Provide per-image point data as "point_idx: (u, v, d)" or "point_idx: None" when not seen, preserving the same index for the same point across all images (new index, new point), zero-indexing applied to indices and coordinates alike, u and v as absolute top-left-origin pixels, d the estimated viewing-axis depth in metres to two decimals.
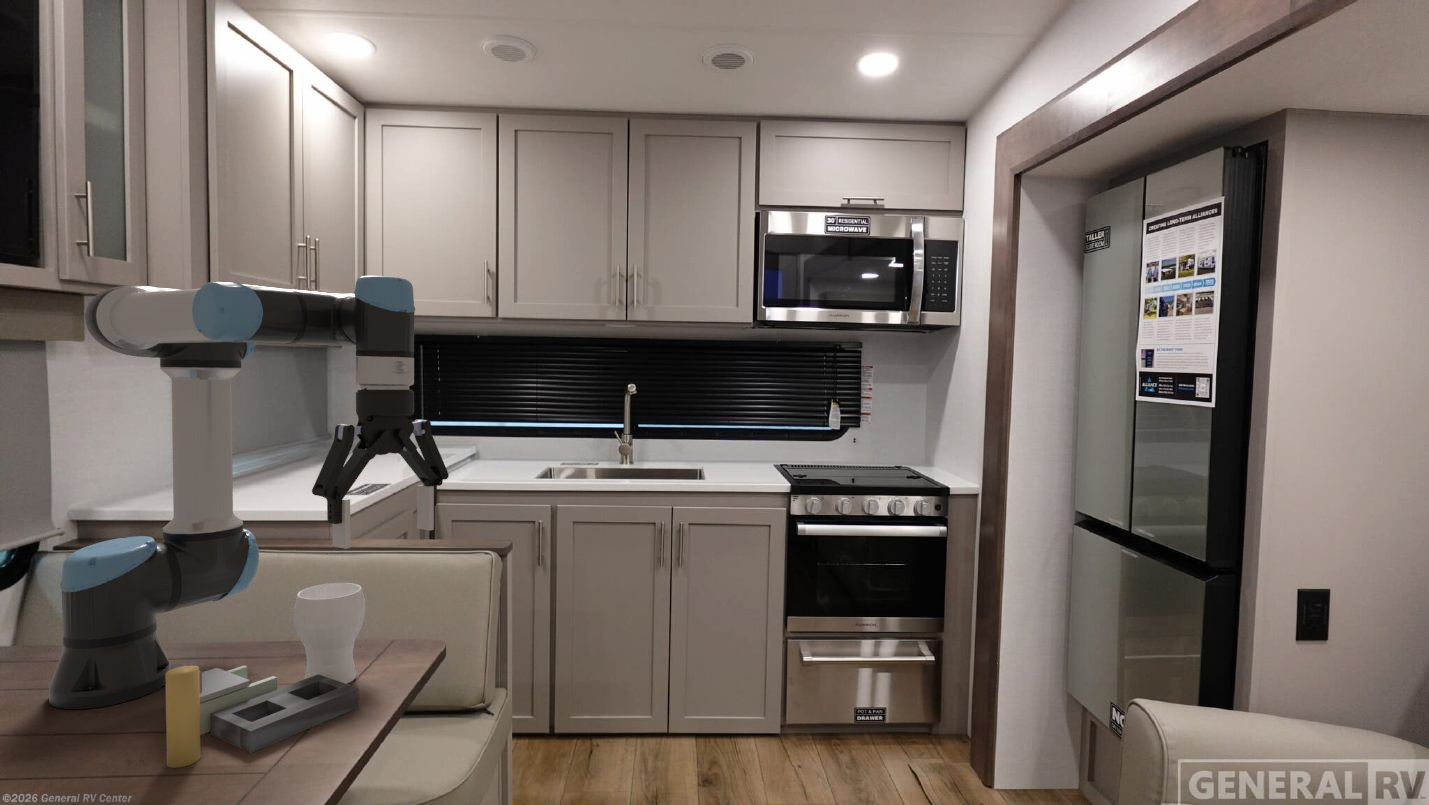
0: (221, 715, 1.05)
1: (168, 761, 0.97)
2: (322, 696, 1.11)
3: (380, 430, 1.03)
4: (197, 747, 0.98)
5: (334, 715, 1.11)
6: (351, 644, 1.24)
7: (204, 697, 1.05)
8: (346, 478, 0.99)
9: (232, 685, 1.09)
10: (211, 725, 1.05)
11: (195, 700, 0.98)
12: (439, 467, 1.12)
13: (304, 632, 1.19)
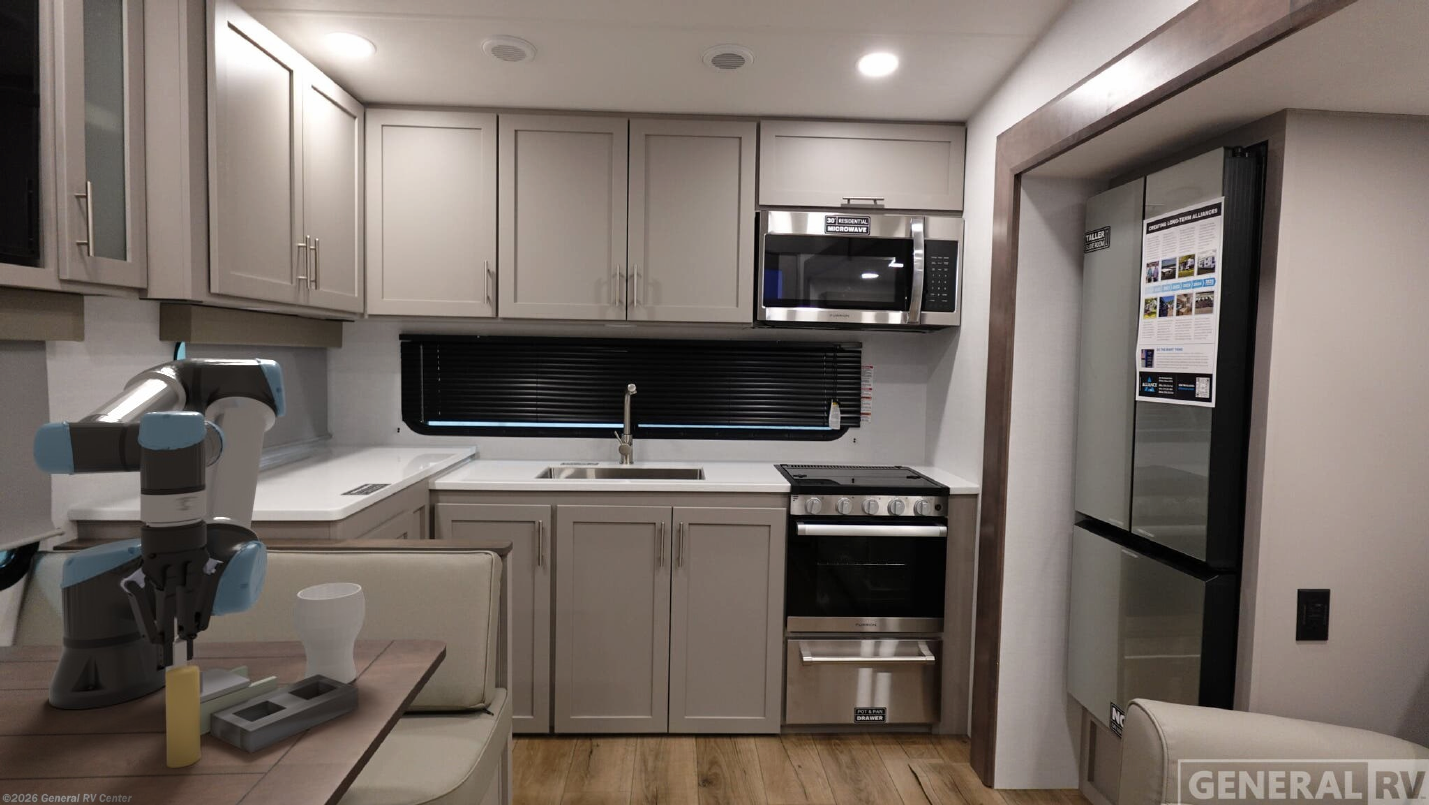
0: (221, 715, 1.05)
1: (168, 761, 0.97)
2: (322, 696, 1.11)
3: (163, 569, 1.03)
4: (197, 747, 0.98)
5: (334, 715, 1.11)
6: (351, 644, 1.24)
7: (205, 697, 1.05)
8: (164, 625, 1.04)
9: (233, 685, 1.09)
10: (211, 725, 1.05)
11: (195, 700, 0.98)
12: (203, 614, 1.08)
13: (304, 632, 1.19)
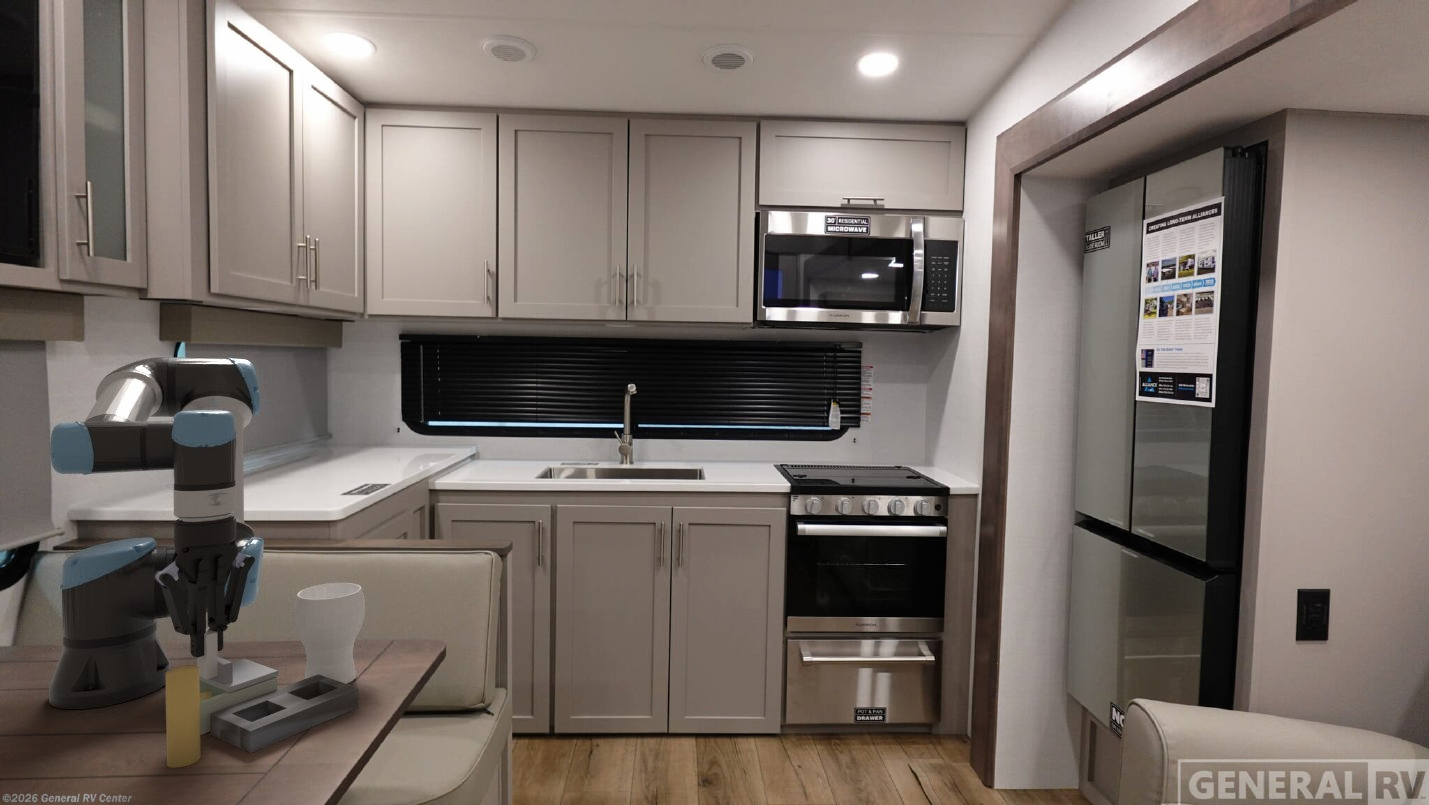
0: (221, 715, 1.05)
1: (168, 761, 0.97)
2: (322, 696, 1.11)
3: (195, 562, 1.07)
4: (197, 747, 0.98)
5: (334, 715, 1.11)
6: (351, 644, 1.24)
7: (235, 686, 1.09)
8: (196, 617, 1.07)
9: (261, 675, 1.12)
10: (211, 725, 1.05)
11: (195, 700, 0.98)
12: (233, 607, 1.11)
13: (304, 632, 1.19)
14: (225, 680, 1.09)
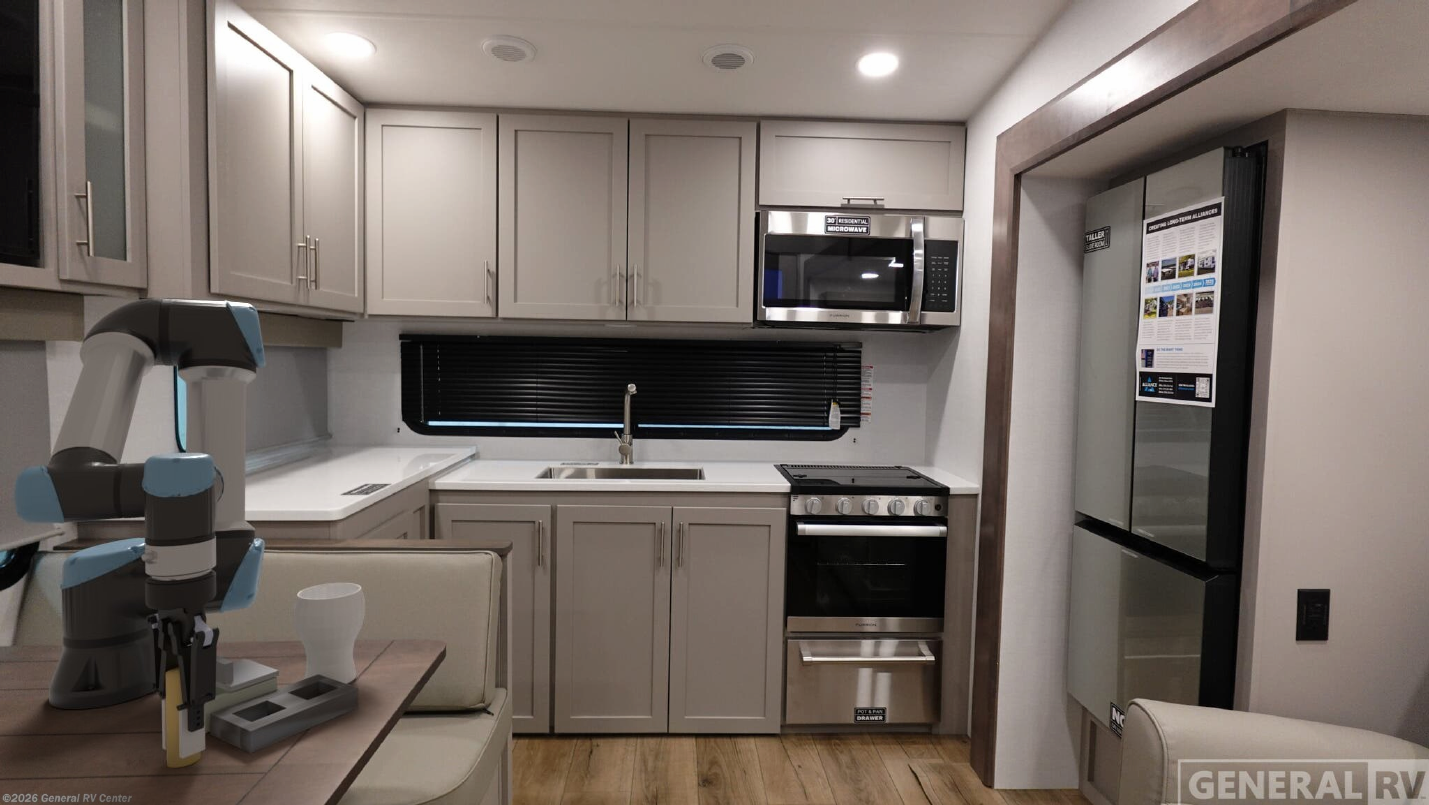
0: (221, 715, 1.05)
1: (168, 761, 0.97)
2: (322, 696, 1.11)
3: None
4: None
5: (334, 715, 1.11)
6: (351, 644, 1.24)
7: (236, 686, 1.09)
8: None
9: (262, 675, 1.12)
10: (211, 725, 1.05)
11: None
12: (191, 688, 0.94)
13: (304, 632, 1.19)
14: (226, 680, 1.09)
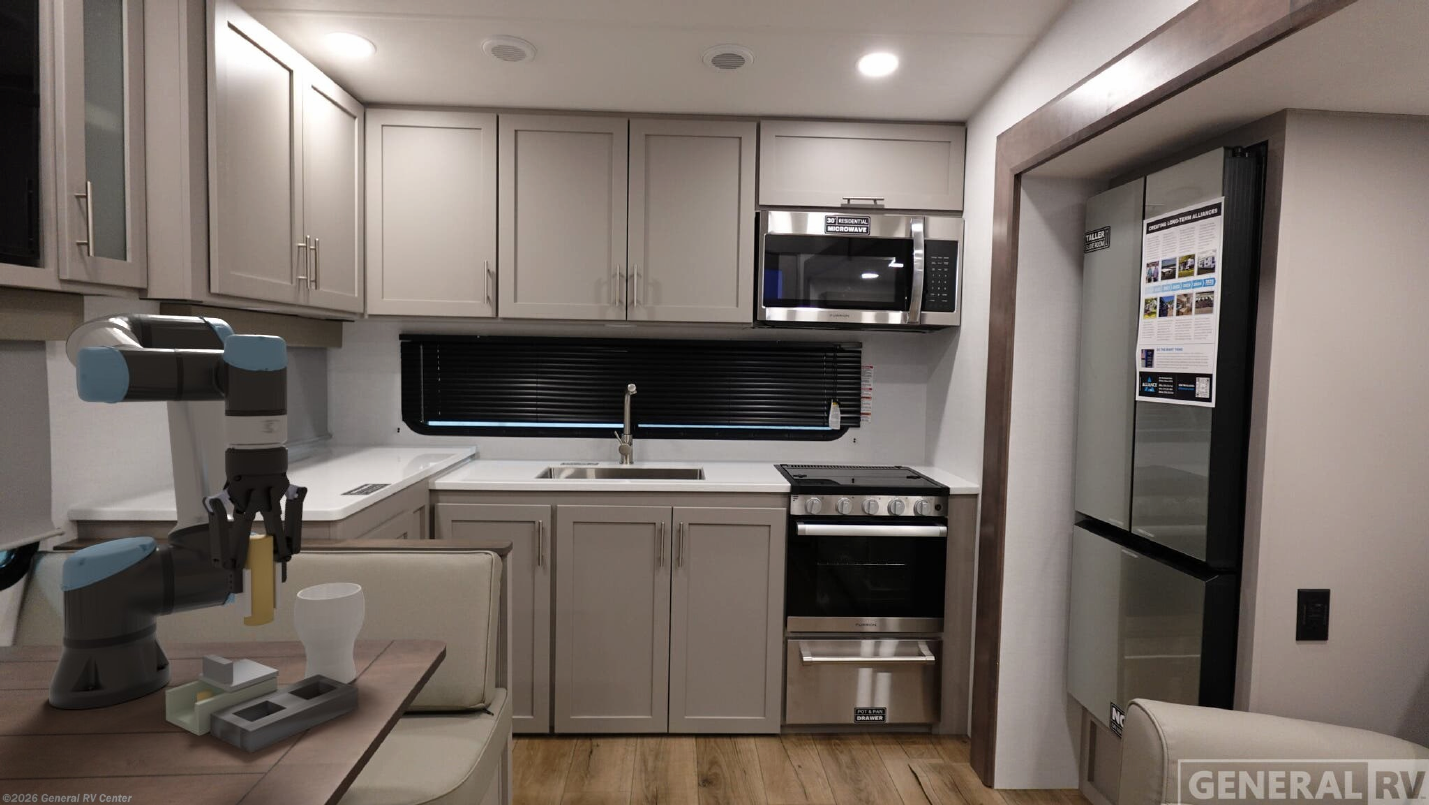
0: (221, 715, 1.05)
1: (265, 619, 1.04)
2: (322, 696, 1.11)
3: (248, 491, 1.02)
4: None
5: (334, 715, 1.11)
6: (351, 644, 1.24)
7: (236, 686, 1.09)
8: (238, 549, 1.02)
9: (262, 675, 1.12)
10: (211, 725, 1.05)
11: None
12: (294, 538, 1.08)
13: (304, 632, 1.19)
14: (226, 680, 1.09)
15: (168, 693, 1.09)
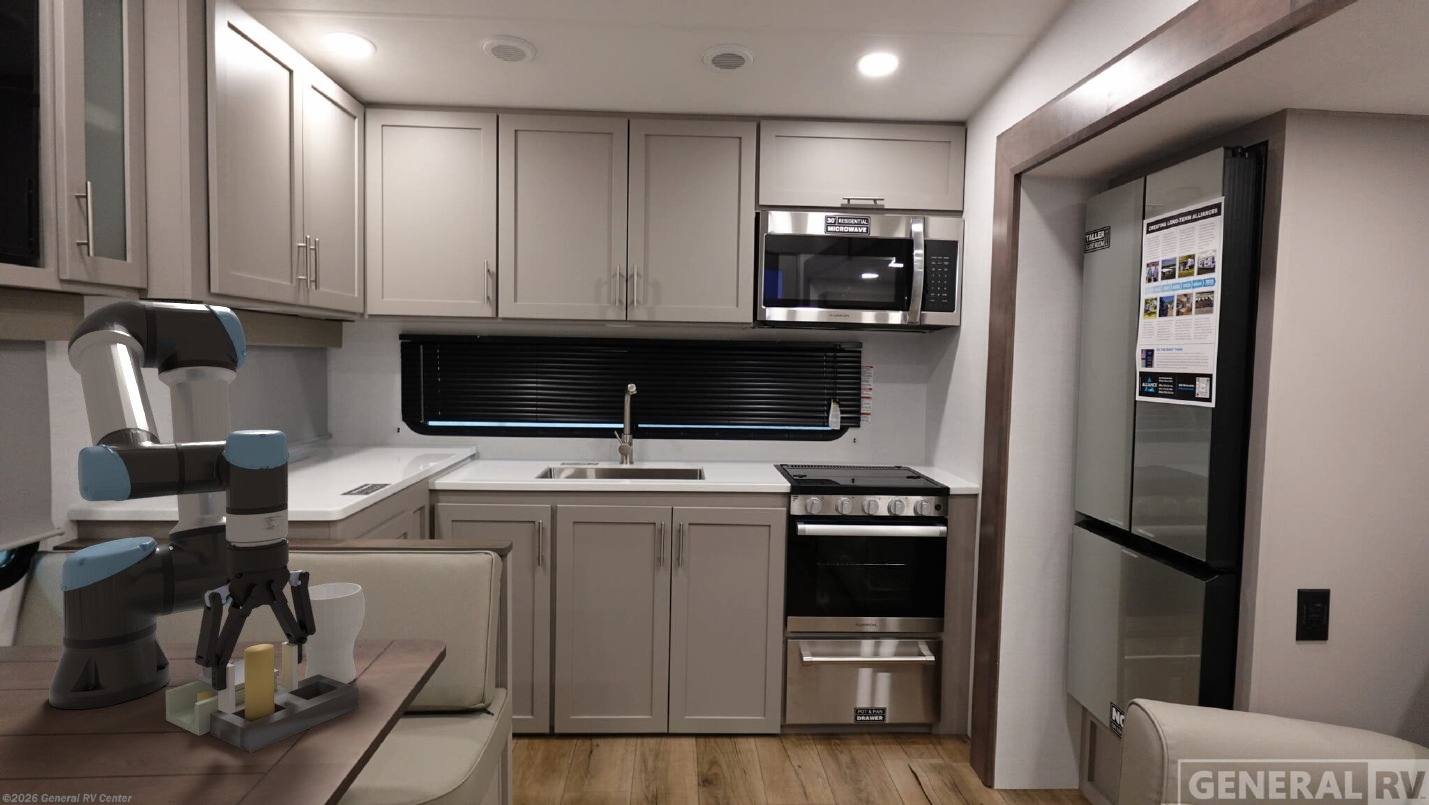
0: (221, 715, 1.05)
1: None
2: (322, 696, 1.11)
3: (249, 586, 1.03)
4: None
5: (334, 715, 1.11)
6: (351, 644, 1.24)
7: (236, 686, 1.09)
8: (225, 645, 1.01)
9: None
10: (211, 725, 1.05)
11: None
12: (307, 621, 1.11)
13: None
14: None
15: (168, 693, 1.09)
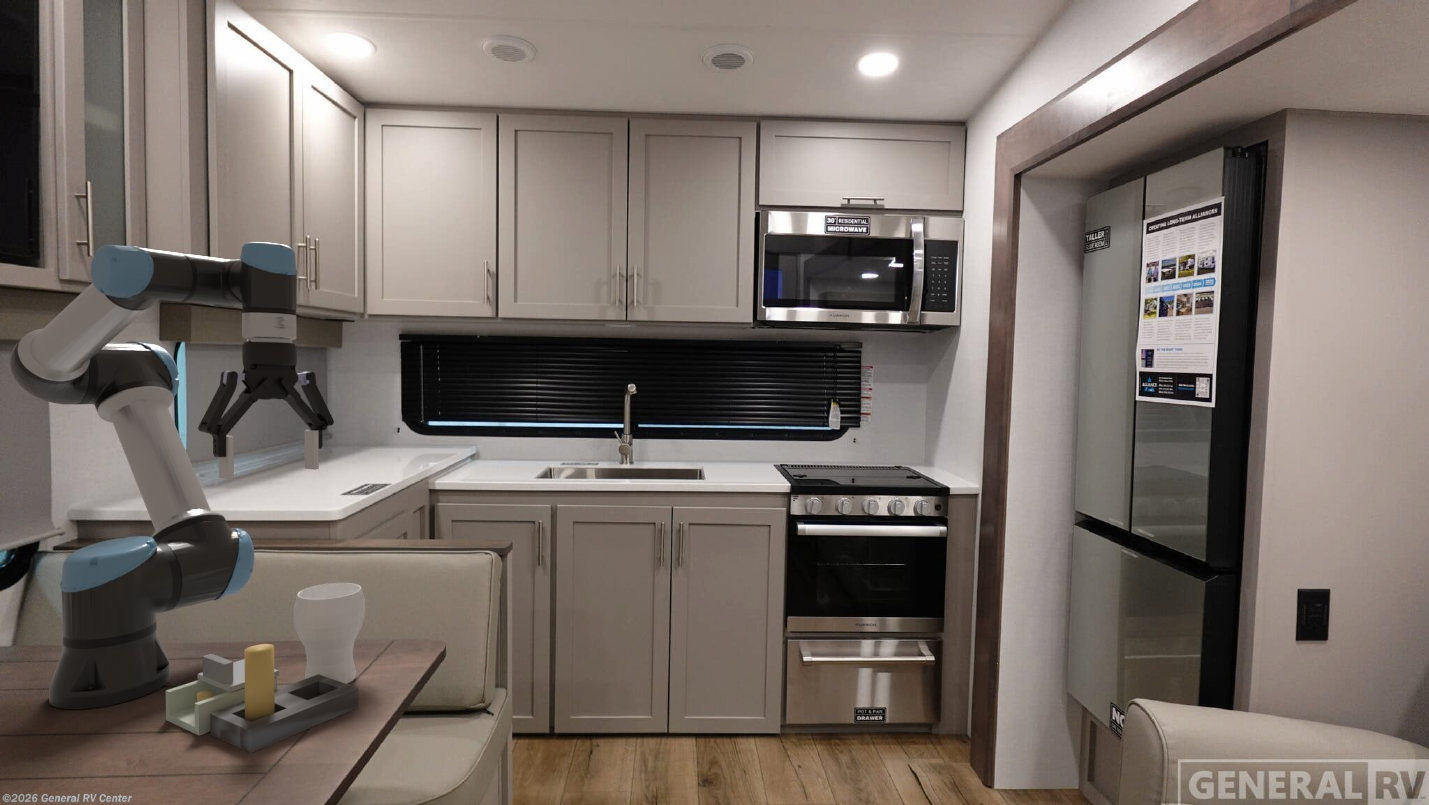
0: (221, 715, 1.05)
1: None
2: (322, 696, 1.11)
3: (263, 377, 1.18)
4: None
5: (334, 715, 1.11)
6: (351, 644, 1.24)
7: (236, 686, 1.09)
8: (230, 417, 1.14)
9: None
10: (211, 725, 1.05)
11: None
12: (324, 414, 1.27)
13: (304, 632, 1.19)
14: (226, 680, 1.09)
15: (168, 693, 1.09)
